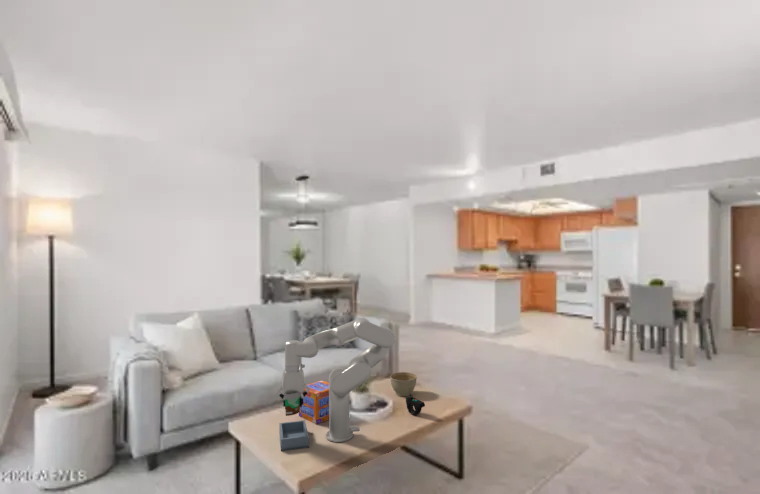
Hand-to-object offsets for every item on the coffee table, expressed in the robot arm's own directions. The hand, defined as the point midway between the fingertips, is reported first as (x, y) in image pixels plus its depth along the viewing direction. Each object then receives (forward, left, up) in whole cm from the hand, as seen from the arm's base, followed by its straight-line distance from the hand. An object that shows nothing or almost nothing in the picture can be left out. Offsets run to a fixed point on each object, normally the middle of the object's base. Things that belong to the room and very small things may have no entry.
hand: (293, 406), depth 191 cm
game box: (-15, -25, -16) cm, 33 cm away
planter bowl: (-69, -44, -16) cm, 83 cm away
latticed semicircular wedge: (-1, 0, -3) cm, 3 cm away
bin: (0, 0, -15) cm, 15 cm away
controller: (-64, -12, -16) cm, 67 cm away
